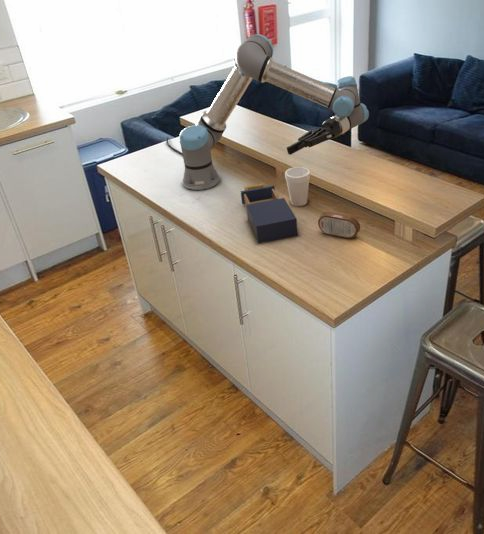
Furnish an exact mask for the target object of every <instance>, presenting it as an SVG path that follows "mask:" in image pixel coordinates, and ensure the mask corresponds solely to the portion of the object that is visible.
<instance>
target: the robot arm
mask: <svg viewBox="0 0 484 534" xmlns="http://www.w3.org/2000/svg"><path fill="white" fill-rule="evenodd" d="M273 55H274V47H273V44H272V42H271V40H270V39H269V38H268V37H266V36H265V35H264V34H258V33H257V34H256V33H255V34H252V35H250V36H248V37H247V38H246V40H244V42H242V43H241V44H240V45H239V46H238V48H237V49H236V51H235V56H234V59H233V64H234V67H233V68H232V70H231V72H230V73H229V75H228V77H227V78H226V80H225V81H224V83H223V85H222V87H221V89H220V91H219V92H218V93H217V95H216V97H215V98H214V100H213V101H212V103H211V105H210V107H209V109H208V110H204V111H203V112H202V113H201V115H200V116H199V117H198V119H197V122H196V123H195V124H193V125H189V126H188V127H185V128H183V129H182V130H181V131H180V133H179V145H180V149H181V151H180V150H178V149H176V148H175V147H173V146H172V145H171V144H170V143H169V137H166V144H167V146H168V147H169V148H170V149H171V150H173V151H175V152H177V153H178V154H180V155H182V160H183V164H184V171H183V178H182V183H183V186H184V188H186V189H187V190H190V191H191V190H192V191H203V190H209V189H211V188H215V186H216V185H218V184H219V182H220V177H219V173H218V172H217V169H216V168H215V166H214V164H213V160H212V150H213V149H214V147H215V146H216V144H217V143H218V142H219V141H220V140H221V139H222V137H223V134H224V132H225V131H226V129H227V121H228V119H229V117H230V116H231V114H232V113H233V111H234V110H235V108H236V106H237V105H238V103H239V102H240V100H241V98H242V97H243V95H244V94H245V92H246V91H247V89H248V88H249V86H250V84H251V83H252V81H253V80H255V81H257V82H259V83H262V84H264V83H269V84H272V85H274V86H275V87H279V88H281V89H283V90H286V91H288V92H289V93H292V94H294V95H297V96H300V97H301V98H303V99H306V100H309V101H311V102H313V103H316V104H318V105H320V106H322V107H325V108H327V109H329V110H331V111H332V112H333V114H334V115H333V116H332V117H329V118H328V119H325V120H324V121H323V122H322V124H321V126H320V127H318V128H316V129H315V130H314V129H313V128H311V129H309V131H307V132H306V133H304V134H302V135H301V136H300V137H298V138H297V141H296V142H294V143H292V144H291V145H289V146H287V147H286V150H287V154H288V155H289V156H290V155H291V156H292V155H293V154H294V153H297V152H299V151H300V150H302V149H305V148H312V147H314V146H317V145H320V144H322V143H324V142H327V141H329V140H333V139H336V138H338V137H339V136H341V135H345V133H346V132H348V131H350V130H352V129H354V128H355V127H357V126H361V124H363V123H365V122H367V120H368V119H369V116H370V111H369V110H368V108H367V106H366V105H365V104H364V103H362V102H361V100H360V96H359V95H360V93H359V89H358V84H357V80H356V78H355V77H354V76H352V75H349V76H344V77H341V78H339V79H338V80H337V81H336V88H335V87H334V86H331V85H329V84H326V83H324V82H322V81H320V80H317V79H315V78H313V77H310V76H308V75H306V74H304V73H301V72H299V71H297V70H294V69H292V68H290V67H287V66H285V65H283V64H280V63H279V62H276V61H275V60H274V59H273Z"/></svg>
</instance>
